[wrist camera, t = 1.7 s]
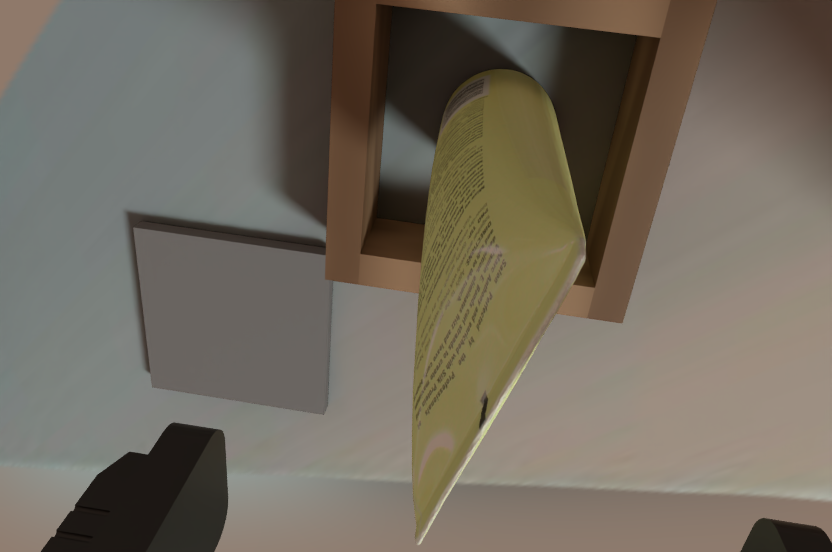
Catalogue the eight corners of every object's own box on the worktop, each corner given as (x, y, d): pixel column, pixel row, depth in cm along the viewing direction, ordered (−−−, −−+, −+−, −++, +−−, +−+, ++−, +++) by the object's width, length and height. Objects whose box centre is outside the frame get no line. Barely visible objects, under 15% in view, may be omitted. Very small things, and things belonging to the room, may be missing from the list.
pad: (334, 248, 33) (330, 256, 32) (327, 405, 38) (324, 414, 37) (141, 220, 33) (133, 227, 33) (158, 378, 38) (152, 387, 37)
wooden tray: (689, -14, 25) (718, -4, 22) (609, 279, 32) (622, 323, 28) (359, -52, 26) (336, -49, 23) (344, 241, 32) (324, 279, 29)
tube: (573, 172, 29) (662, 513, 12) (465, 205, 31) (412, 552, 14) (538, 47, 27) (587, 253, 10) (423, 89, 29) (296, 331, 11)
